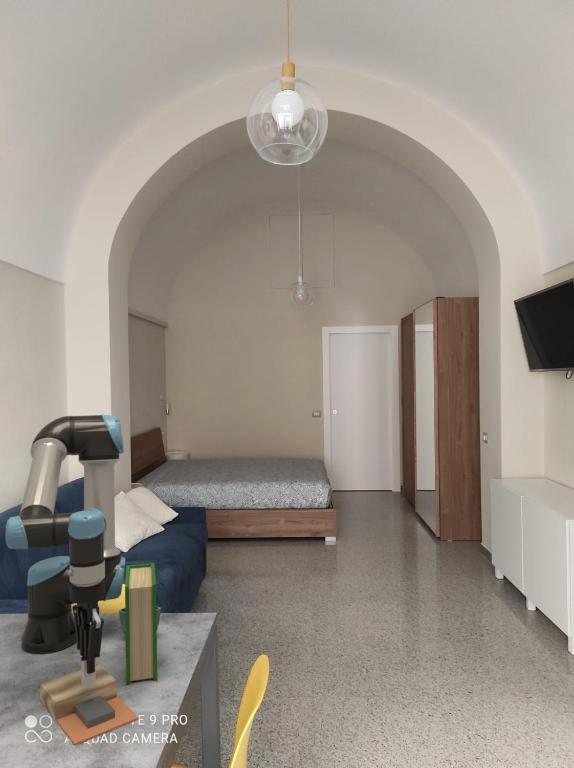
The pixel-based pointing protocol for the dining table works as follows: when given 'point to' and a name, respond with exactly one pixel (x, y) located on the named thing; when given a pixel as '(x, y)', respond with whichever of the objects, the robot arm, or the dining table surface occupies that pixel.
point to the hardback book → (140, 622)
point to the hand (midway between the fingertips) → (88, 685)
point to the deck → (75, 691)
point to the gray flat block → (94, 711)
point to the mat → (81, 733)
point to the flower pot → (122, 618)
